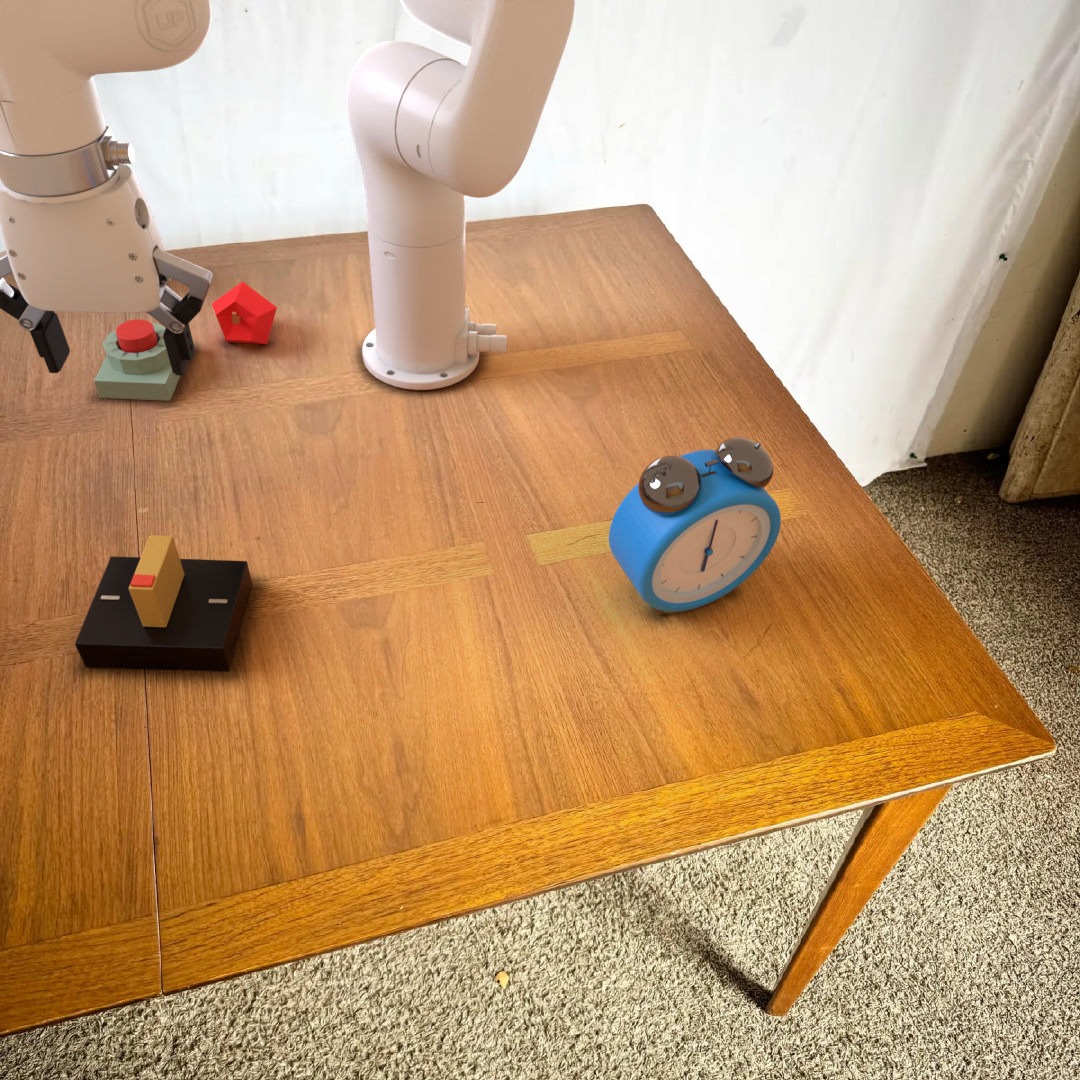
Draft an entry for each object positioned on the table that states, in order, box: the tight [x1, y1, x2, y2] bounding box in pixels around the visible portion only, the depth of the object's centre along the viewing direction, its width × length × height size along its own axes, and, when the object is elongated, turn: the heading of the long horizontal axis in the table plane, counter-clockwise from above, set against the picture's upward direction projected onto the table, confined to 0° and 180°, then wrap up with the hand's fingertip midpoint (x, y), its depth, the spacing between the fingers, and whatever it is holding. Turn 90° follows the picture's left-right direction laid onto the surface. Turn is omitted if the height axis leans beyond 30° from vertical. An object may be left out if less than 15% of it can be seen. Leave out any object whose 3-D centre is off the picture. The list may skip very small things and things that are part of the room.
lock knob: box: [129, 534, 185, 627], centre depth 74 cm, size 6×2×5 cm, turn 0°
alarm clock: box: [608, 436, 782, 616], centre depth 78 cm, size 13×6×15 cm, turn 115°
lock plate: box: [74, 556, 254, 672], centre depth 76 cm, size 11×9×3 cm
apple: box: [211, 281, 278, 345], centre depth 103 cm, size 7×7×8 cm
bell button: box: [115, 318, 157, 353], centre depth 97 cm, size 4×4×2 cm
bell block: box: [93, 322, 182, 402], centre depth 98 cm, size 9×7×4 cm
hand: (121, 364), depth 78 cm, fingers open, 9 cm apart
